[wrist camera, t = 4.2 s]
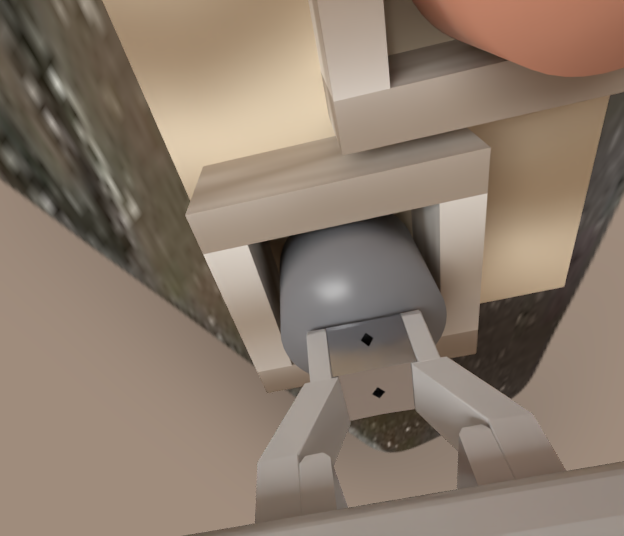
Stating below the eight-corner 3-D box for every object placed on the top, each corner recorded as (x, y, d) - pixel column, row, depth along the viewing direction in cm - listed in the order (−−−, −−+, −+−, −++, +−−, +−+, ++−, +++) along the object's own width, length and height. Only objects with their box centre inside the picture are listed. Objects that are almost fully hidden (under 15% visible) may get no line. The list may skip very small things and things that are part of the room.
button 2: (263, 221, 12) (260, 285, 9) (411, 188, 12) (447, 246, 9) (296, 324, 14) (301, 394, 12) (417, 299, 14) (446, 367, 12)
